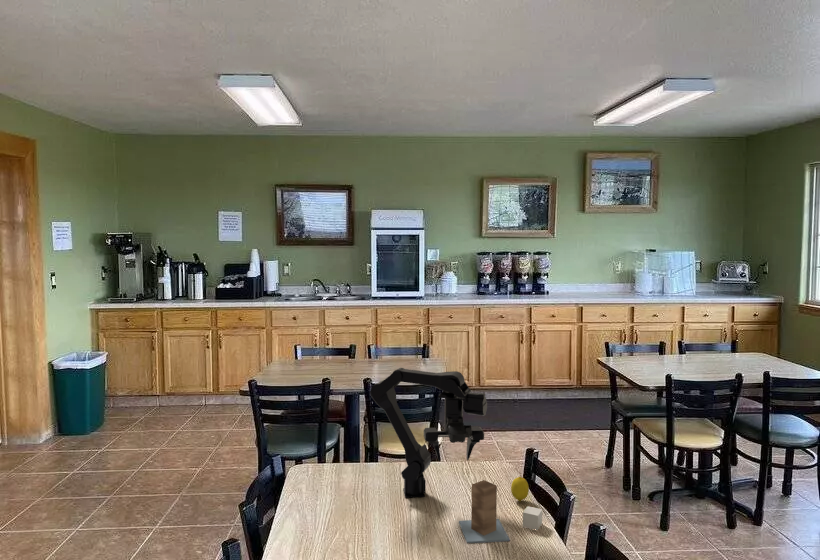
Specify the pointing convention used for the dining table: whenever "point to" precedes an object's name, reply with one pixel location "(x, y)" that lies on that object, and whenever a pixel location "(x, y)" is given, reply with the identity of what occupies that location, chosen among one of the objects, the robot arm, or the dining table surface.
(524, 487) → the lemon
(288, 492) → the dining table surface
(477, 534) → the slate mat
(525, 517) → the grey cube
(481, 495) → the tall block
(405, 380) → the robot arm
